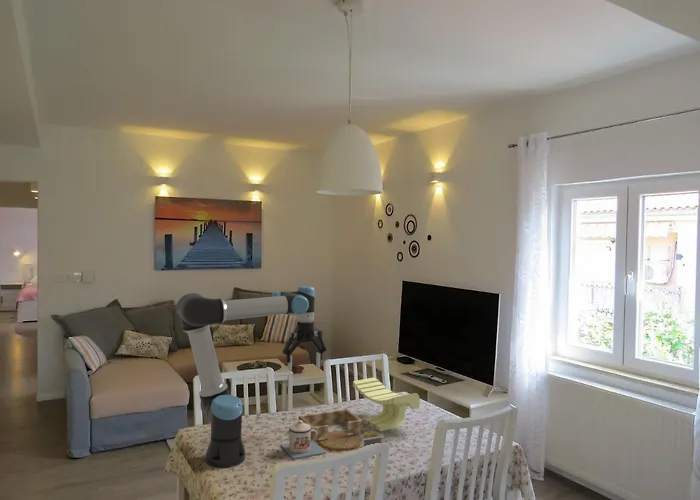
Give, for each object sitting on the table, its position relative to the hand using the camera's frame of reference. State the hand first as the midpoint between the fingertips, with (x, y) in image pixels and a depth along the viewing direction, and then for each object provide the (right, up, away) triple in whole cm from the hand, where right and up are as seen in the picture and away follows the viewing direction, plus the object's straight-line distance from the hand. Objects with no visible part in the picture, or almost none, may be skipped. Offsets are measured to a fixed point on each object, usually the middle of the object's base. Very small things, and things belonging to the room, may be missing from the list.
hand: (304, 368), depth 228 cm
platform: (+30, -31, -13) cm, 44 cm away
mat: (+1, -29, -19) cm, 35 cm away
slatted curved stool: (+37, -30, +15) cm, 50 cm away
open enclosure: (+12, -29, +3) cm, 31 cm away
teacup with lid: (+1, -29, -19) cm, 34 cm away
